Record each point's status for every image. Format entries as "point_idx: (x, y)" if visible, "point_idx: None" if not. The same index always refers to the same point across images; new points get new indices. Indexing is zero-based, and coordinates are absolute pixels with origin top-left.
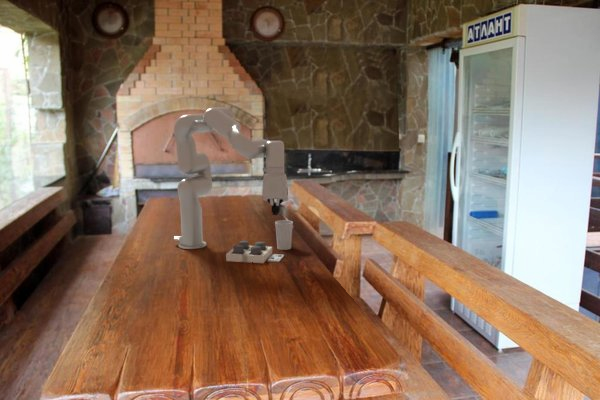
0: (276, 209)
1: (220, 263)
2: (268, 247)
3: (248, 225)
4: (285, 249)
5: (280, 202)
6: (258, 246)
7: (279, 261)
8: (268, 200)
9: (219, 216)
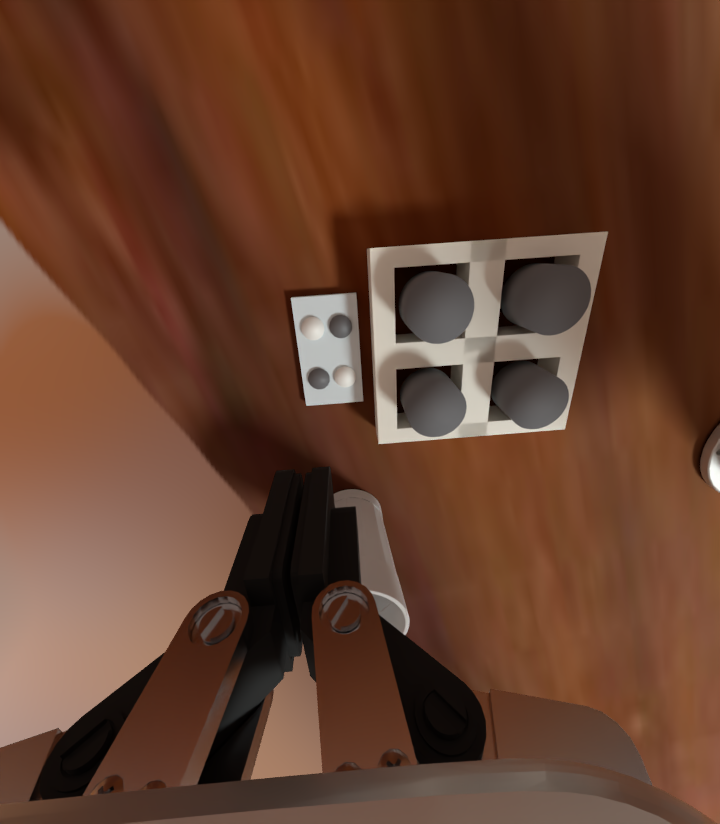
0: (260, 527)
1: (607, 173)
2: (393, 428)
3: (552, 697)
4: (336, 493)
5: (141, 691)
6: (429, 334)
7: (292, 304)
8: (447, 707)
9: (657, 741)
